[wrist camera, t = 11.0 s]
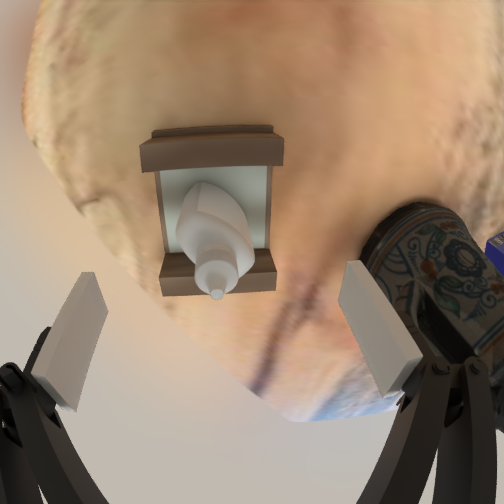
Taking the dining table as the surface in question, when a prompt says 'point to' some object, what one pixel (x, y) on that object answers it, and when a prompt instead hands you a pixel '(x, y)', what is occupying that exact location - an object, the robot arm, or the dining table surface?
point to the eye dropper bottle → (214, 238)
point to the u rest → (224, 176)
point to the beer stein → (442, 287)
